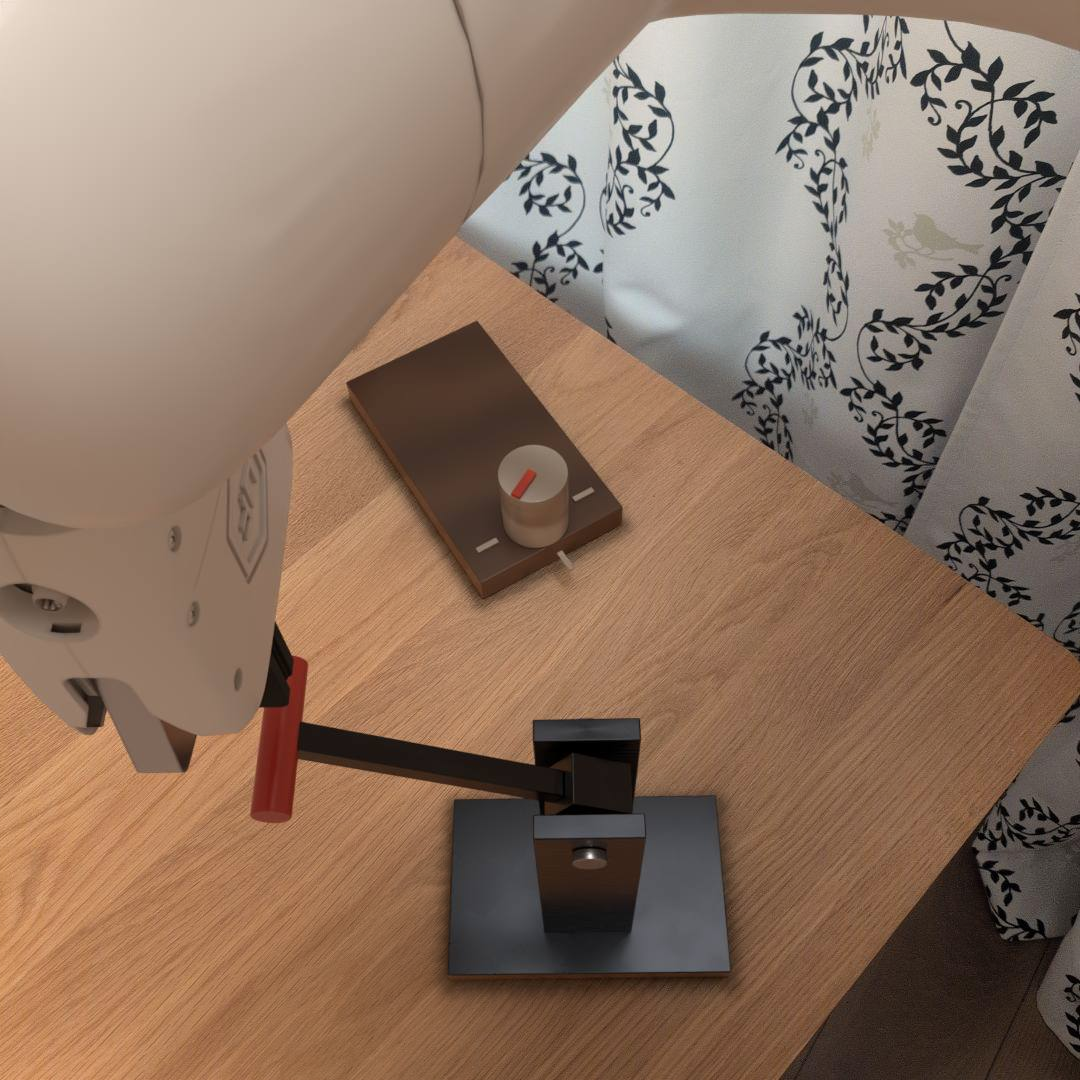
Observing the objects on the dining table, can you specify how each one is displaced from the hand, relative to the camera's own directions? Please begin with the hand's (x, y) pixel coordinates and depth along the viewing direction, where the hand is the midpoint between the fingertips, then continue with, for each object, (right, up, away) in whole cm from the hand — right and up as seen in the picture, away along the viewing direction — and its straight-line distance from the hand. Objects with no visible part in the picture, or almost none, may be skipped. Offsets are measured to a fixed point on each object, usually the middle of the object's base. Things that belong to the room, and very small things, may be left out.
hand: (245, 685), depth 38 cm
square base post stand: (+12, -13, +22) cm, 28 cm away
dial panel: (+7, +9, +36) cm, 37 cm away
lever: (+6, -5, +7) cm, 10 cm away
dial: (+10, +6, +31) cm, 33 cm away
